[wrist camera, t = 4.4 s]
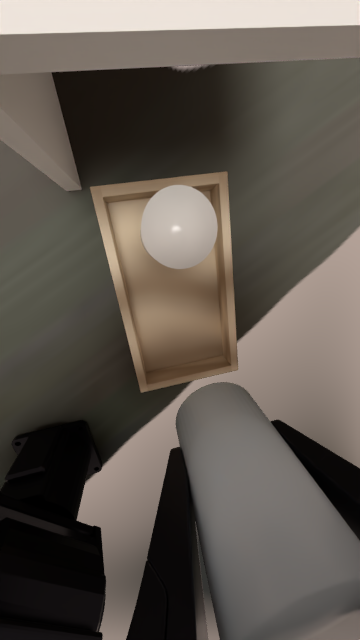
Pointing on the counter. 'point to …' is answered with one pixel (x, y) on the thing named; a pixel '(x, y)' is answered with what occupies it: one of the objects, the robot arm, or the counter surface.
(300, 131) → the counter surface
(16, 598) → the robot arm
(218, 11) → the white l-shaped bracket
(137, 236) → the tray
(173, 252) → the white rounded cylinder
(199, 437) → the grey rounded cylinder
